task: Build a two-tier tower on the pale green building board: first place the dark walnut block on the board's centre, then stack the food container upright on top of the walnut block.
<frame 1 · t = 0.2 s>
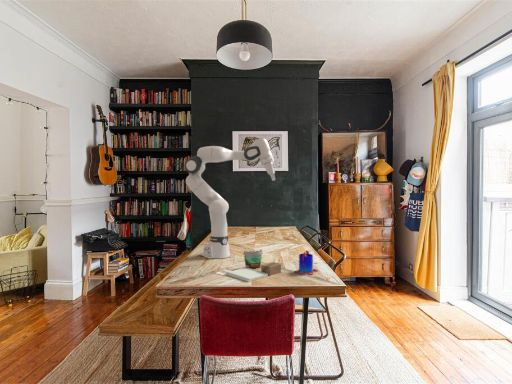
hand: (274, 180, 208), 52 cm above the table, tool tilted 20°, fingers open, 8 cm apart
fantasy tower: (305, 272, 176), on the table
building board: (246, 275, 168), on the table
food container: (254, 268, 184), on the table
walnut block: (271, 273, 173), on the table
instruction page: (224, 272, 174), on the table
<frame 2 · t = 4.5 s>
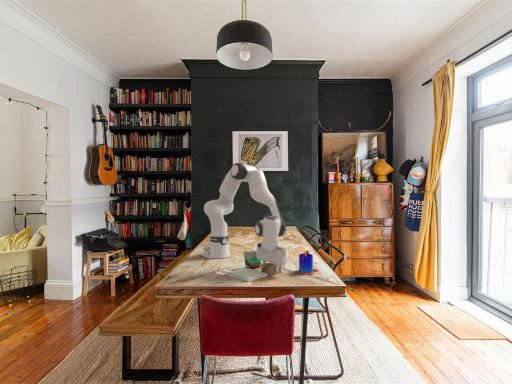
hand: (271, 269, 173), 2 cm above the table, tool pointing down, fingers closed on walnut block, 6 cm apart
walnut block: (271, 272, 173), on the table, touching gripper
everything else where it was.
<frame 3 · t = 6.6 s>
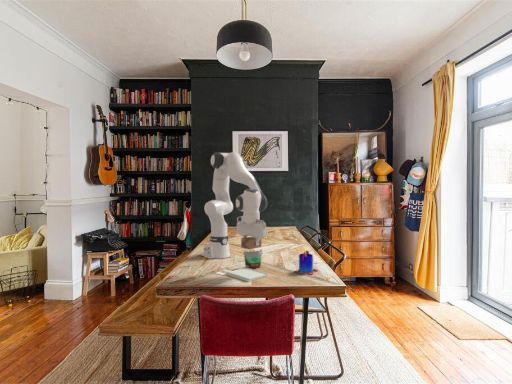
hand: (251, 244, 169), 17 cm above the table, tool pointing down, fingers closed on walnut block, 6 cm apart
walnut block: (251, 247, 169), point 15 cm above the table, touching gripper
everything else where it was.
when the fingers open (4 cm above the table, at t = 8.9 s): walnut block drops 1 cm, resting on building board.
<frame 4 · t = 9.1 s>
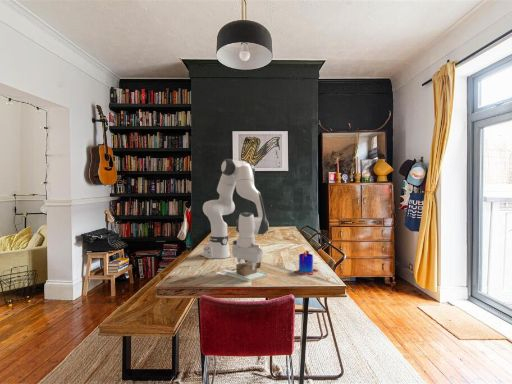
hand: (246, 267, 168), 4 cm above the table, tool pointing down, fingers open, 8 cm apart
walnut block: (246, 273, 168), point 1 cm above the table, touching building board
everything else where it was.
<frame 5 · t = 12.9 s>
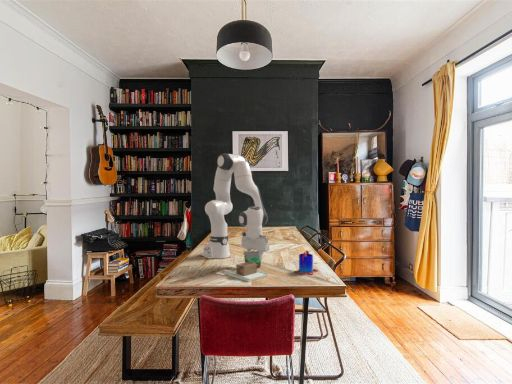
hand: (255, 257, 184), 6 cm above the table, tool pointing down, fingers open, 7 cm apart
food container: (254, 268, 184), on the table, touching gripper
everything else where it was.
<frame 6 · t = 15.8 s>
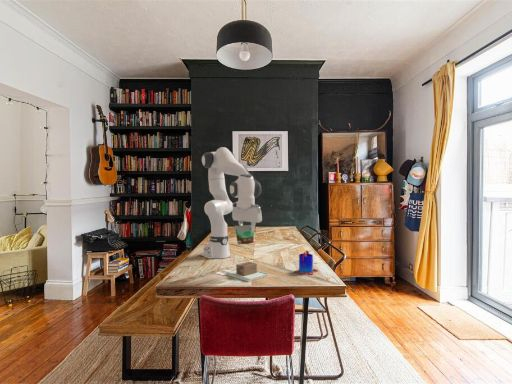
hand: (247, 229, 168), 25 cm above the table, tool pointing down, fingers closed on food container, 6 cm apart
food container: (247, 243, 168), point 17 cm above the table, touching gripper
everything else where it was.
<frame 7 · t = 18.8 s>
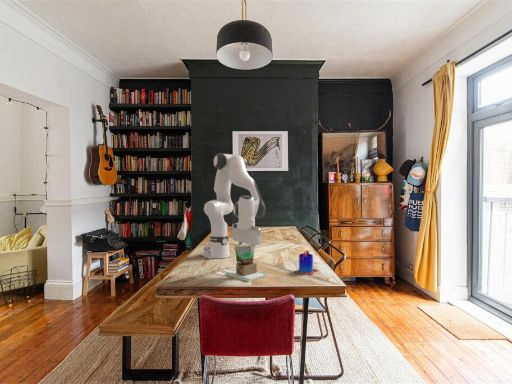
hand: (246, 251, 168), 13 cm above the table, tool pointing down, fingers closed on food container, 6 cm apart
food container: (247, 264, 168), point 6 cm above the table, touching gripper, walnut block
walnut block: (246, 273, 168), point 1 cm above the table, touching building board, food container
everything else where it was.
when the fingers open (13 cm above the table, at t = 19.0 s): food container stays where it is, resting on walnut block.
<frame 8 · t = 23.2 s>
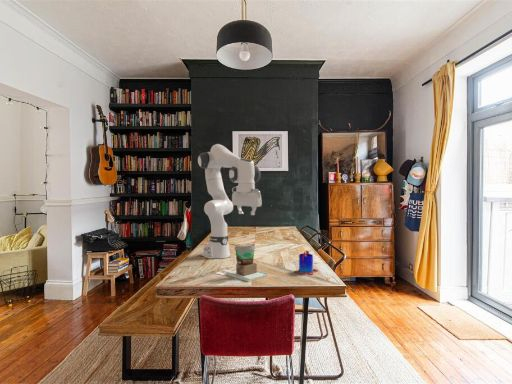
hand: (246, 214, 167), 33 cm above the table, tool pointing down, fingers open, 8 cm apart
food container: (247, 264, 168), point 6 cm above the table, touching walnut block
everything else where it was.
at the end: walnut block inside the target area on the building board (0.1 cm from its centre), point 1.2 cm above the building board's base; food container 0.4 cm from the walnut block (horizontally); food container touching walnut block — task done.
